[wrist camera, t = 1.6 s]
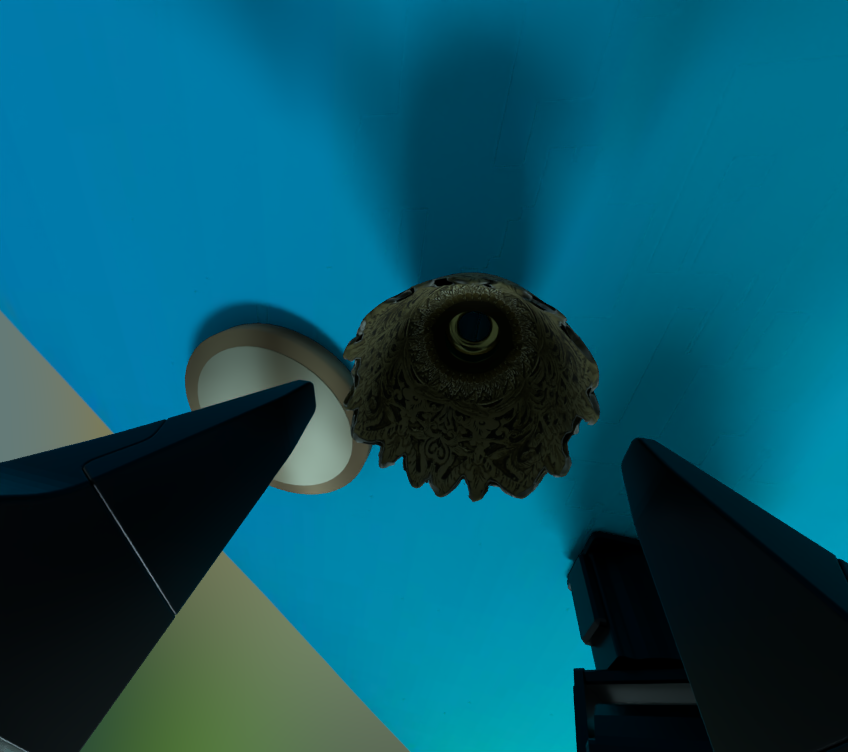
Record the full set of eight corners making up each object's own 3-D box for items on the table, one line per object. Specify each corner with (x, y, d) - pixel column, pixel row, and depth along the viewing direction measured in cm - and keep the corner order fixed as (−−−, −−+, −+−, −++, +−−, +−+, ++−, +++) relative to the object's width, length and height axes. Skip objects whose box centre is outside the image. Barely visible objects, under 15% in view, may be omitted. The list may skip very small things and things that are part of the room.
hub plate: (372, 339, 17) (364, 347, 16) (375, 497, 23) (369, 511, 22) (175, 310, 19) (155, 316, 18) (225, 463, 25) (213, 475, 24)
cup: (421, 230, 14) (350, 242, 7) (578, 271, 14) (666, 329, 7) (394, 367, 18) (329, 464, 11) (517, 404, 17) (532, 531, 10)
